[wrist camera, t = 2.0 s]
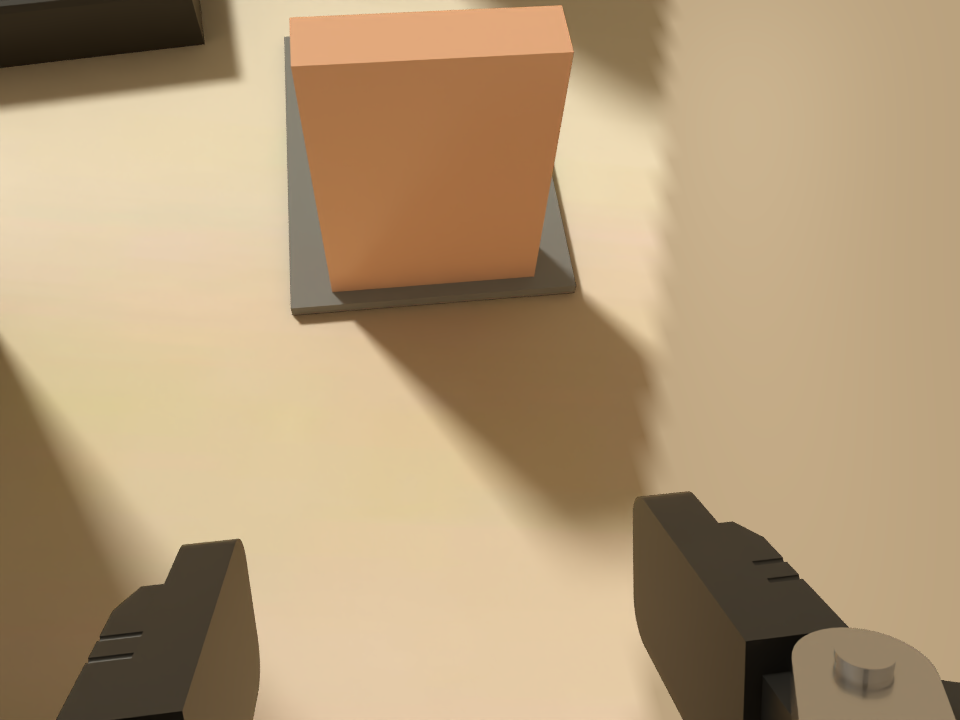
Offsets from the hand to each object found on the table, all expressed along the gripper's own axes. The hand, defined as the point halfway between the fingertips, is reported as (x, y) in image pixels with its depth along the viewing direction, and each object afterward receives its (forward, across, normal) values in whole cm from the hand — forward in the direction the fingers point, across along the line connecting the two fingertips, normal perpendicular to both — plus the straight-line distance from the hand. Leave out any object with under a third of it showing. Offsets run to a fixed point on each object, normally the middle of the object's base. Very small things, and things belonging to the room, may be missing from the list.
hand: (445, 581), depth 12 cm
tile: (+32, -2, +1) cm, 32 cm away
